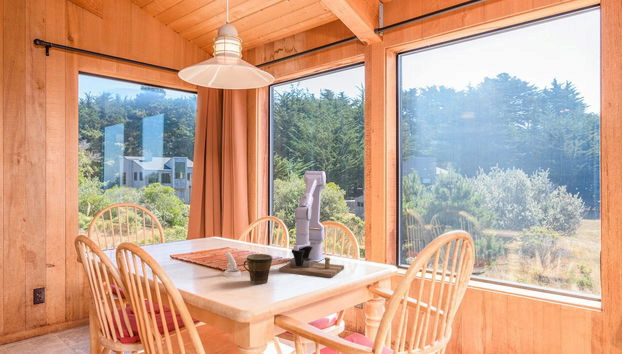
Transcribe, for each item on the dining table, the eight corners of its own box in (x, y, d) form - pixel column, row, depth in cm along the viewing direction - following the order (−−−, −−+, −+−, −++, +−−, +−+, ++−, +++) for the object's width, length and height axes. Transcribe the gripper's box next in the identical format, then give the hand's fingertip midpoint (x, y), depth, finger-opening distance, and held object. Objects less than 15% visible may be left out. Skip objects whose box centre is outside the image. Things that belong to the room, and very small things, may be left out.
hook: (213, 265, 160) (217, 253, 166) (224, 285, 167) (228, 272, 172) (230, 262, 159) (234, 250, 165) (241, 282, 165) (244, 270, 171)
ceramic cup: (259, 277, 164) (260, 252, 164) (277, 282, 157) (277, 256, 157) (234, 283, 154) (235, 257, 153) (252, 288, 147) (253, 261, 147)
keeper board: (295, 263, 191) (295, 250, 191) (344, 268, 182) (344, 255, 182) (278, 271, 174) (279, 257, 174) (331, 277, 165) (331, 263, 165)
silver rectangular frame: (295, 263, 184) (295, 256, 184) (313, 265, 181) (313, 258, 181) (290, 265, 179) (290, 259, 179) (308, 268, 176) (309, 261, 176)
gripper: (300, 231, 188) (299, 260, 188) (287, 235, 174) (286, 266, 175) (314, 232, 185) (313, 261, 185) (302, 236, 172) (301, 268, 172)
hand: (301, 264), depth 180 cm, fingers open, 7 cm apart
